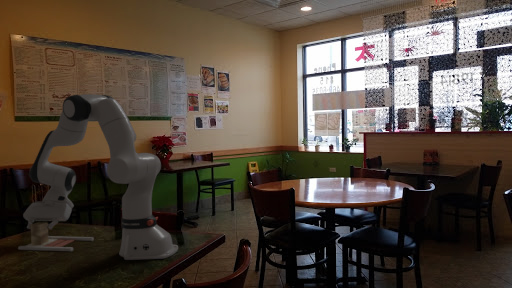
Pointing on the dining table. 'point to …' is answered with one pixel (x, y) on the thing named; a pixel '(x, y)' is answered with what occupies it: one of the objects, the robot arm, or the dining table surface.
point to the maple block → (39, 233)
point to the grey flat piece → (57, 242)
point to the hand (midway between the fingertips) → (38, 228)
